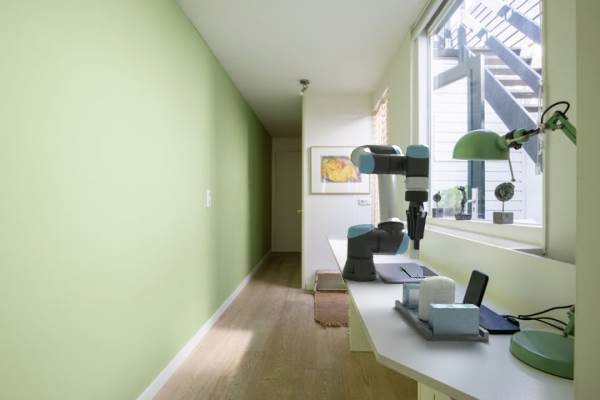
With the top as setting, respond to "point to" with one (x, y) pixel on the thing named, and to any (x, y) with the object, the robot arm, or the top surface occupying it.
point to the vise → (447, 322)
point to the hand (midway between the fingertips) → (414, 258)
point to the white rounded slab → (435, 294)
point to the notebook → (428, 272)
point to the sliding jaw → (410, 295)
